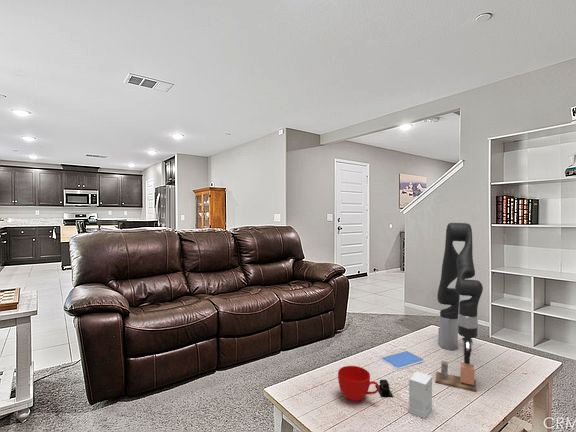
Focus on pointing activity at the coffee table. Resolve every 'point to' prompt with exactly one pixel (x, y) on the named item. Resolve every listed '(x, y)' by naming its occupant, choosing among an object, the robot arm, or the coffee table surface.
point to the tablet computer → (402, 360)
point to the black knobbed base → (384, 389)
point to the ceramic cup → (355, 382)
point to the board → (452, 379)
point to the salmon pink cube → (467, 373)
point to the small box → (420, 394)
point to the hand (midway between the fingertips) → (466, 363)
